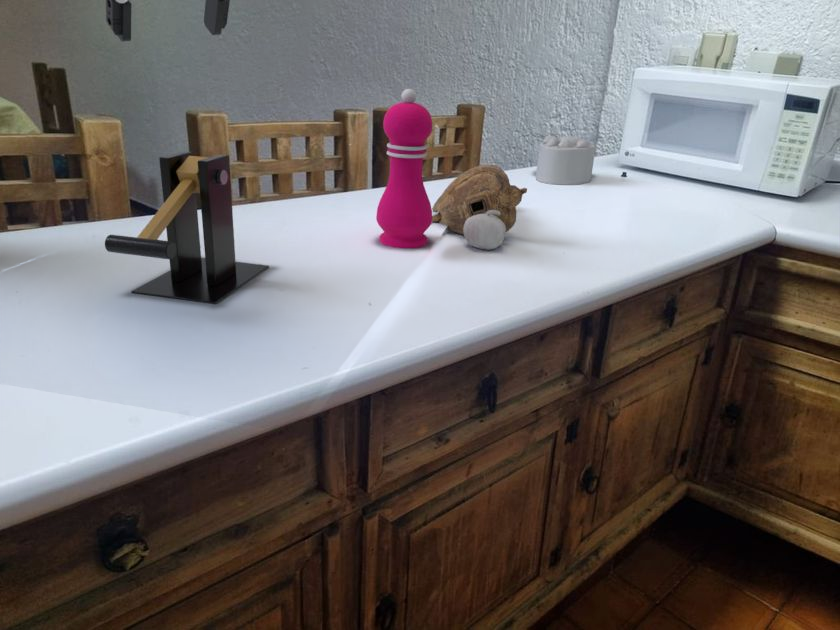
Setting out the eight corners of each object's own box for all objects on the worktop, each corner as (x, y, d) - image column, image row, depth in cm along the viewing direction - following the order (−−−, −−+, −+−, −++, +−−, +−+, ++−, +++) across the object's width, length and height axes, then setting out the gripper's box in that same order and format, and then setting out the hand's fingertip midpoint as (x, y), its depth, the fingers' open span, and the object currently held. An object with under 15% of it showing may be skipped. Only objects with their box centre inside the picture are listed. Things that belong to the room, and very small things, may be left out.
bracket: (216, 314, 63) (205, 169, 58) (132, 303, 65) (114, 161, 59) (269, 276, 74) (264, 151, 69) (196, 267, 76) (186, 145, 70)
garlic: (512, 247, 90) (516, 209, 88) (494, 256, 85) (498, 216, 83) (473, 239, 93) (476, 202, 91) (454, 247, 88) (457, 209, 86)
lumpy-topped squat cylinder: (596, 179, 142) (602, 138, 139) (569, 187, 132) (575, 143, 129) (553, 172, 148) (557, 132, 144) (524, 179, 138) (529, 137, 135)
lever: (171, 266, 57) (162, 245, 55) (110, 259, 58) (99, 238, 57) (233, 179, 66) (227, 158, 64) (179, 174, 67) (171, 153, 65)
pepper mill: (436, 245, 89) (445, 89, 81) (423, 260, 82) (431, 92, 75) (384, 239, 90) (389, 85, 83) (368, 253, 84) (371, 88, 76)
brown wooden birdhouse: (410, 189, 91) (514, 156, 86) (445, 161, 113) (530, 134, 108) (432, 256, 94) (534, 228, 89) (462, 216, 116) (546, 193, 111)
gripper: (242, -178, 54) (220, 6, 66) (56, -205, 46) (70, 12, 58) (288, -131, 51) (257, 52, 63) (101, -151, 43) (105, 65, 55)
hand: (168, 33), depth 60 cm, fingers open, 8 cm apart
